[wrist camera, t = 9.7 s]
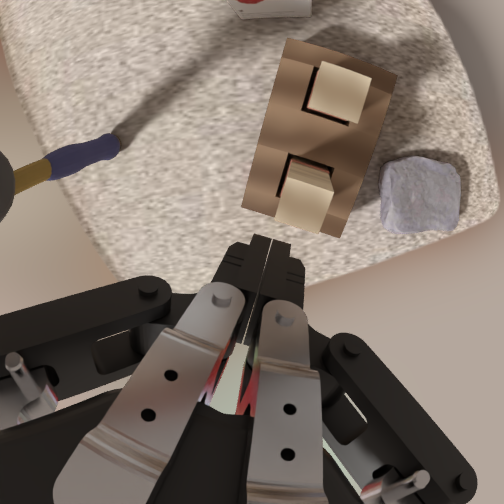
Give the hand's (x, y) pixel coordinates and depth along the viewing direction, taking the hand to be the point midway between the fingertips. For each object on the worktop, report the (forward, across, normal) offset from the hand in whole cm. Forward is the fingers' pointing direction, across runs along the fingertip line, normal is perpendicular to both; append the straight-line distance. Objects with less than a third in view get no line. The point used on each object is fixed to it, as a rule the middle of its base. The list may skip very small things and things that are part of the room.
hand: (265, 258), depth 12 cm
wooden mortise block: (+27, -2, -2) cm, 28 cm away
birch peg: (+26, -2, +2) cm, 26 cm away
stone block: (+28, -18, 0) cm, 33 cm away
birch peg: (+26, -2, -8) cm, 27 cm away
